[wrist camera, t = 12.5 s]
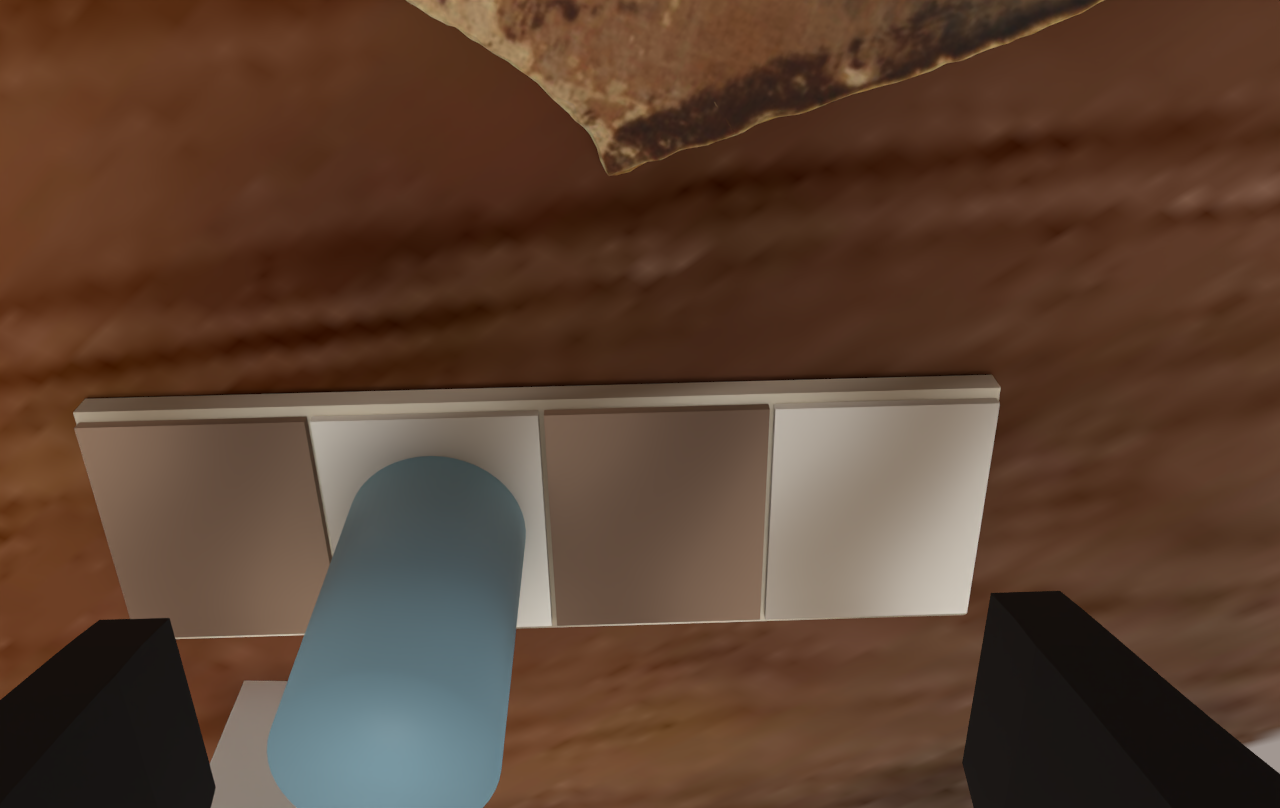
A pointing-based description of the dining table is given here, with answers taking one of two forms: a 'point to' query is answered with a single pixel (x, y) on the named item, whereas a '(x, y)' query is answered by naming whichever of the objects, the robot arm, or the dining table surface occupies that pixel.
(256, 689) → the die
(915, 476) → the board
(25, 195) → the dining table surface
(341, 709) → the blue capsule cylinder
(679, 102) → the shard
